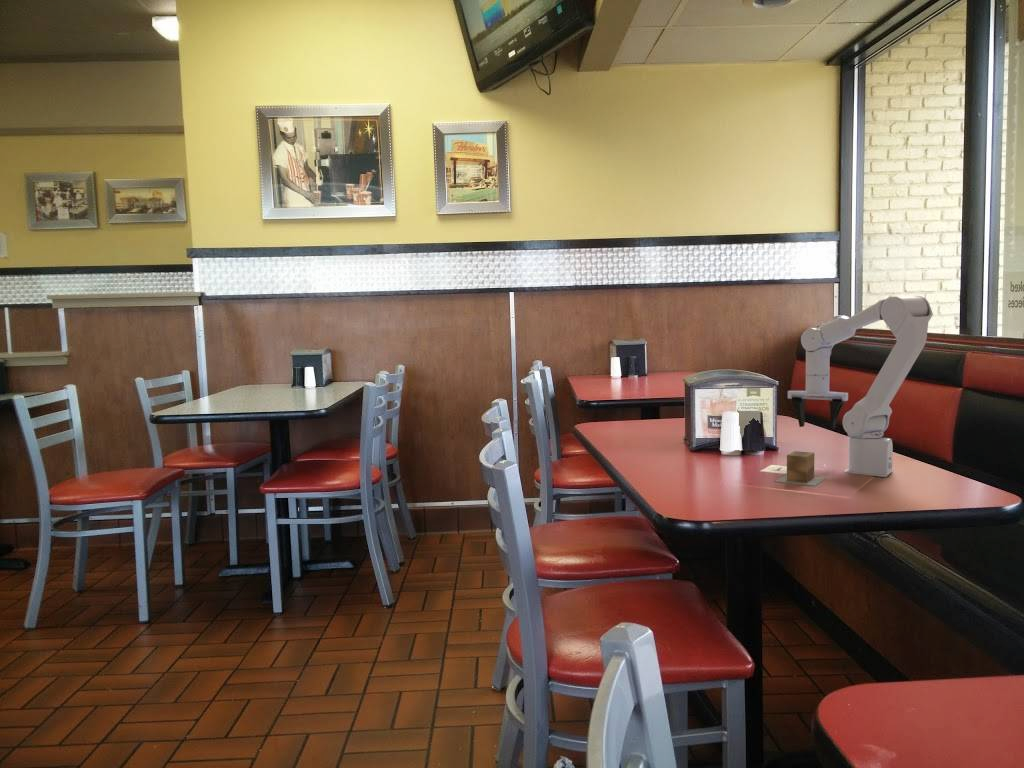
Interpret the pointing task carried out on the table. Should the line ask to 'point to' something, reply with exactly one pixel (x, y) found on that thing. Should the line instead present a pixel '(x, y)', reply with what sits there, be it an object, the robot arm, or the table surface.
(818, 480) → the grey mat
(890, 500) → the table surface
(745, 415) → the grey upright block
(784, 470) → the tile
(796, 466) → the walnut block
